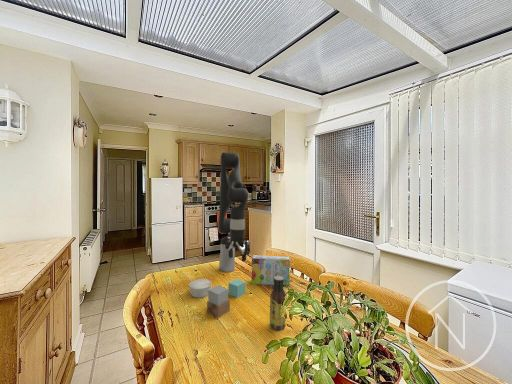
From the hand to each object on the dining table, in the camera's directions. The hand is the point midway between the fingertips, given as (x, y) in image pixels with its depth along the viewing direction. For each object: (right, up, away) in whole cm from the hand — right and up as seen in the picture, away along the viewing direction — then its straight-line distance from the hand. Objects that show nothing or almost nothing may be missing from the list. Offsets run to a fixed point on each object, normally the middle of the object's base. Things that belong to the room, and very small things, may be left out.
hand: (237, 259), depth 116 cm
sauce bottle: (+18, -20, -25) cm, 36 cm away
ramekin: (-19, -18, +1) cm, 26 cm away
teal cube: (0, -18, +1) cm, 18 cm away
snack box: (+18, -18, +14) cm, 29 cm away
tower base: (-7, -19, -15) cm, 25 cm away
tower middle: (-7, -14, -15) cm, 22 cm away
